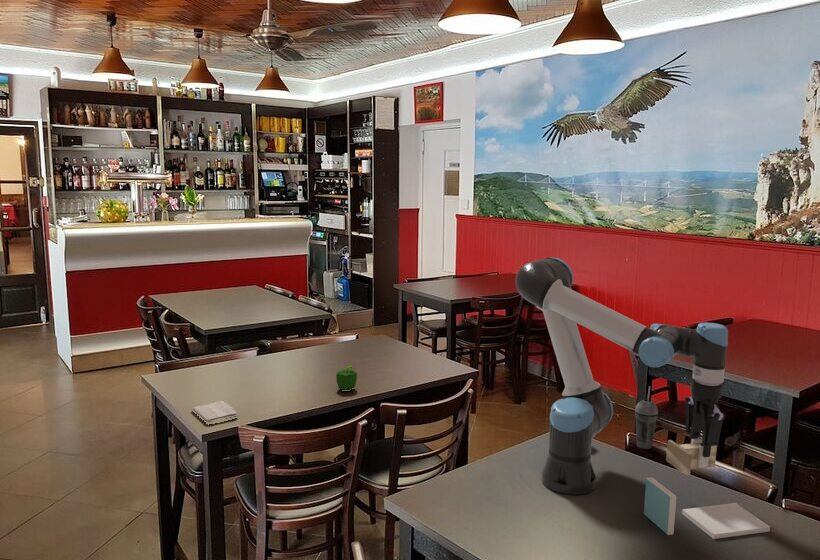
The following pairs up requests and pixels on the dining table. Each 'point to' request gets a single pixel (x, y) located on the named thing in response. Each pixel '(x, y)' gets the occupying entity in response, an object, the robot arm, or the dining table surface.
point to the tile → (660, 505)
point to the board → (725, 520)
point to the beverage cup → (645, 422)
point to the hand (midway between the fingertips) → (698, 463)
